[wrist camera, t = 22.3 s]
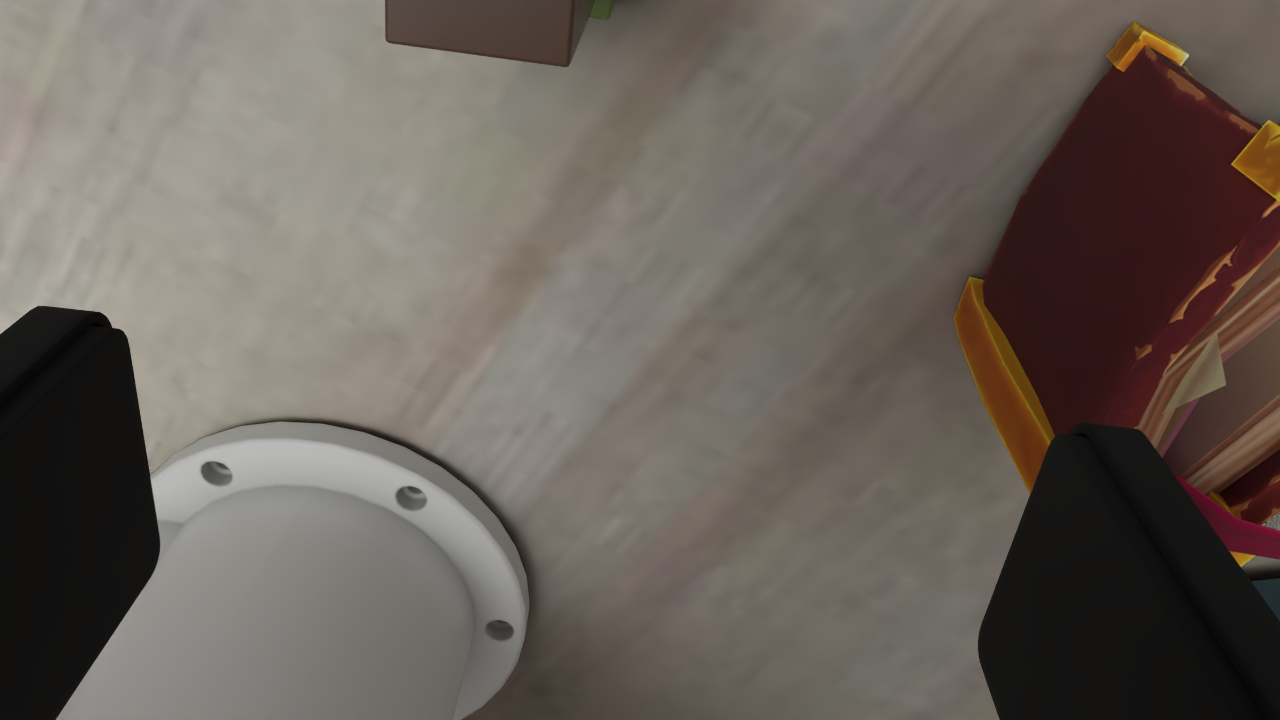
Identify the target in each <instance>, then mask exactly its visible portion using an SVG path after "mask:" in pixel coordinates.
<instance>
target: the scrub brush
mask: <svg viewBox="0 0 1280 720" xmlns="http://www.w3.org/2000/svg"><path fill="white" fill-rule="evenodd" d="M614 4H615V0H385V38H386V41H387V42H389V43H392V44H400V45H407V46H414V47H422V48H429V49H436V50H444V51H451V52H458V53H466V54H473V55H480V56H488V57H495V58H502V59H510V60H517V61H524V62H532V63H539V64H546V65H554V66H561V67H568V66H569V64H570V62H571V60H572V57H573V55H574V52H575V50H576V48H577V45H578V43H579V40H580V38H581V35H582V33H583V30H584V28H585V26H586V23H587V21H588V18H589V17H593V18H600V19H609V18H610V16H611V13H612V10H613V7H614Z"/></svg>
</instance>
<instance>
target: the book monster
mask: <svg viewBox="0 0 1280 720" xmlns="http://www.w3.org/2000/svg"><path fill="white" fill-rule="evenodd" d="M1106 56H1107V57H1108V59H1109V60H1110V61H1111V62H1112V63H1113V65H1112V67H1111V68H1110V69H1109V71H1108V72H1107V73H1106V74H1105V76H1104V77H1103V78H1102V79H1101V81H1100V82H1099V83H1098V85H1097V86H1096V87H1095V88H1094V90H1093V91H1092V92H1091V93H1090V95H1089V96H1088V97H1087V98H1086V100H1085V101H1084V103H1083V104H1082V106H1081V108H1080V109H1079V111H1078V112H1077V114H1076V115H1075V117H1074V118H1073V120H1072V121H1071V123H1070V124H1069V126H1068V127H1067V129H1066V130H1065V132H1064V133H1063V135H1062V136H1061V138H1060V139H1059V141H1058V142H1057V144H1056V145H1055V147H1054V148H1053V150H1052V151H1051V153H1050V154H1049V156H1048V157H1047V159H1046V160H1045V162H1044V163H1043V165H1042V166H1041V168H1040V169H1039V171H1038V172H1037V174H1036V175H1035V177H1034V178H1033V180H1032V181H1031V183H1030V184H1029V186H1028V187H1027V189H1026V190H1025V192H1024V193H1023V195H1022V196H1021V198H1020V200H1019V202H1018V205H1017V207H1016V209H1015V211H1014V214H1013V216H1012V218H1011V220H1010V223H1009V225H1008V227H1007V229H1006V232H1005V234H1004V236H1003V238H1002V241H1001V243H1000V245H999V247H998V250H997V252H996V254H995V256H994V259H993V261H992V263H991V265H990V268H989V270H988V272H987V274H986V277H985V279H984V280H981V279H977V278H973V277H969V279H968V281H967V284H966V286H965V289H964V292H963V294H962V297H961V299H960V302H959V304H958V307H957V309H956V312H955V314H954V317H953V318H954V322H955V326H956V330H957V334H958V338H959V341H960V344H961V347H962V349H963V352H964V354H965V357H966V360H967V362H968V365H969V367H970V370H971V373H972V375H973V378H974V380H975V383H976V385H977V388H978V391H979V393H980V396H981V398H982V401H983V403H984V406H985V408H986V410H987V412H988V414H989V416H990V418H991V419H992V421H993V423H994V425H995V427H996V429H997V431H998V433H999V435H1000V437H1001V439H1002V441H1003V443H1004V445H1005V447H1006V449H1007V451H1008V453H1009V455H1010V457H1011V458H1012V460H1013V462H1014V464H1015V466H1016V468H1017V470H1018V472H1019V474H1020V476H1021V478H1022V480H1023V482H1024V484H1025V486H1026V487H1027V489H1028V491H1029V493H1030V494H1031V491H1032V489H1033V486H1034V484H1035V481H1036V478H1037V476H1038V473H1039V470H1040V468H1041V465H1042V462H1043V460H1044V457H1045V454H1046V452H1047V449H1048V447H1049V445H1050V443H1051V441H1052V439H1053V438H1054V437H1055V436H1057V435H1059V434H1065V435H1068V433H1069V431H1070V430H1071V429H1072V428H1073V427H1074V426H1075V425H1076V424H1078V423H1081V422H1084V423H1093V424H1101V425H1110V426H1119V427H1128V428H1135V429H1139V430H1140V431H1142V432H1143V433H1144V434H1145V435H1146V437H1147V438H1148V439H1149V441H1150V442H1151V443H1152V445H1153V446H1154V448H1155V449H1156V450H1157V452H1158V453H1159V455H1160V456H1161V457H1162V459H1163V460H1164V461H1165V463H1166V464H1167V466H1168V467H1169V468H1170V470H1171V471H1172V473H1173V474H1174V475H1175V477H1176V478H1177V479H1178V481H1179V482H1180V484H1181V485H1182V486H1183V488H1184V489H1185V491H1186V492H1187V493H1188V495H1189V496H1190V497H1191V499H1192V500H1193V502H1194V503H1195V504H1196V506H1197V507H1198V509H1199V510H1200V511H1201V513H1202V514H1203V515H1204V517H1205V518H1206V520H1207V521H1208V522H1209V524H1210V525H1211V526H1212V528H1213V529H1214V531H1215V532H1216V533H1217V535H1218V536H1219V538H1220V539H1221V540H1222V542H1223V543H1224V544H1225V546H1226V547H1227V549H1228V550H1229V551H1230V553H1231V554H1232V556H1233V557H1234V558H1235V560H1236V561H1237V562H1238V564H1239V565H1240V567H1242V566H1243V565H1244V564H1246V563H1247V562H1248V561H1249V560H1251V559H1252V558H1253V557H1255V556H1263V557H1269V558H1275V559H1280V531H1279V530H1275V529H1272V528H1269V527H1265V526H1262V524H1263V523H1265V522H1266V521H1267V520H1269V519H1270V518H1271V517H1273V516H1274V515H1275V514H1277V513H1278V512H1279V511H1280V125H1278V124H1276V123H1274V122H1272V121H1270V120H1268V121H1267V122H1266V123H1265V124H1264V125H1263V126H1260V125H1259V124H1257V123H1256V122H1254V121H1253V120H1251V119H1250V118H1248V117H1247V116H1246V115H1244V114H1243V113H1241V112H1240V111H1239V110H1237V109H1236V108H1234V107H1233V106H1232V105H1230V104H1229V103H1227V102H1226V101H1225V100H1223V99H1222V98H1220V97H1219V96H1218V95H1216V94H1215V93H1214V92H1212V91H1211V90H1210V89H1208V88H1207V87H1205V86H1204V85H1203V84H1201V83H1200V82H1199V81H1197V80H1196V79H1195V78H1193V76H1192V75H1191V73H1190V72H1189V70H1188V68H1187V67H1186V65H1185V64H1184V69H1183V68H1182V67H1181V66H1182V64H1183V63H1184V62H1185V60H1186V59H1187V58H1188V57H1189V54H1187V53H1186V52H1185V51H1184V50H1182V49H1181V48H1180V47H1179V46H1178V45H1176V44H1174V43H1173V42H1171V41H1169V40H1167V39H1165V38H1163V37H1162V36H1160V35H1158V34H1156V33H1154V32H1153V31H1151V30H1149V29H1147V28H1145V27H1144V26H1142V25H1140V24H1138V23H1136V22H1133V23H1132V24H1131V25H1130V27H1129V28H1128V29H1127V30H1126V32H1125V33H1124V34H1123V35H1122V37H1121V38H1120V39H1119V40H1118V42H1117V43H1116V44H1115V45H1114V47H1113V48H1112V49H1111V50H1110V52H1109V53H1108V54H1107V55H1106Z"/></svg>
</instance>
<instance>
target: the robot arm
mask: <svg viewBox="0 0 1280 720" xmlns="http://www.w3.org/2000/svg"><path fill="white" fill-rule="evenodd" d="M529 607H530V603H529V593H528V584H527V576H526V573H525V570H524V568H523V565H522V562H521V559H520V556H519V554H518V551H517V548H516V546H515V545H514V543H513V541H512V540H511V538H510V537H509V535H508V533H507V532H506V530H505V529H504V527H503V525H502V524H501V522H500V520H499V519H498V518H497V517H496V516H495V514H494V513H493V512H492V511H491V510H490V509H489V508H488V507H487V506H486V505H485V504H484V503H483V502H482V500H481V499H480V498H479V497H478V496H477V495H476V494H475V493H474V492H473V491H472V490H471V489H469V488H468V487H467V486H465V485H464V484H463V483H462V482H460V481H459V480H458V479H456V478H455V477H454V476H452V475H451V474H450V473H449V472H447V471H446V470H445V469H443V468H442V467H440V466H439V465H437V464H435V463H433V462H431V461H429V460H428V459H426V458H424V457H422V456H420V455H418V454H417V453H415V452H413V451H411V450H409V449H407V448H406V447H403V446H400V445H398V444H395V443H392V442H389V441H387V440H384V439H381V438H378V437H376V436H373V435H370V434H368V433H365V432H360V431H355V430H351V429H346V428H341V427H336V426H331V425H326V424H319V423H299V422H272V423H263V424H254V425H245V426H239V427H236V428H232V429H229V430H226V431H222V432H219V433H216V434H213V435H209V436H206V437H204V438H202V439H200V440H198V441H196V442H195V443H193V444H191V445H189V446H187V447H185V448H184V449H182V450H180V451H178V452H176V453H175V454H173V455H172V456H171V457H170V458H169V459H168V460H167V461H166V462H165V463H164V464H163V465H161V466H160V467H159V468H158V469H157V470H156V471H155V472H154V473H153V474H152V475H151V476H150V472H149V466H148V460H147V453H146V447H145V441H144V435H143V428H142V422H141V416H140V410H139V404H138V397H137V391H136V385H135V379H134V372H133V366H132V360H131V354H130V348H129V343H128V339H127V337H126V335H125V333H124V332H123V331H122V330H120V329H116V328H112V326H111V323H110V321H109V320H108V318H107V317H106V316H105V315H104V314H102V313H101V312H93V311H84V310H75V309H67V308H58V307H49V306H38V307H36V308H34V309H32V310H30V311H29V312H28V313H26V314H25V315H24V316H23V317H21V318H20V319H19V320H18V321H16V322H15V323H14V324H13V325H11V326H10V327H9V328H8V329H6V330H5V331H4V332H3V333H2V334H0V720H462V719H464V718H465V717H467V716H468V715H470V714H472V713H473V712H475V711H476V710H478V709H480V708H481V707H483V706H484V705H485V704H486V703H487V702H488V701H489V700H490V699H491V698H492V697H493V696H494V695H495V694H496V693H497V692H498V691H499V690H500V689H501V688H502V687H503V686H504V684H505V683H506V681H507V679H508V678H509V676H510V675H511V673H512V671H513V670H514V668H515V667H516V665H517V663H518V659H519V656H520V653H521V649H522V646H523V643H524V639H525V634H526V627H527V620H528V614H529ZM978 653H979V659H980V663H981V667H982V670H983V673H984V676H985V678H986V681H987V684H988V687H989V690H990V693H991V696H992V699H993V702H994V704H995V707H996V710H997V713H998V716H999V719H1000V720H1280V621H1279V619H1278V618H1277V616H1276V615H1275V614H1274V612H1273V611H1272V610H1271V608H1270V607H1269V605H1268V604H1267V603H1266V601H1265V600H1264V598H1263V597H1262V596H1261V594H1260V593H1259V592H1258V590H1257V589H1256V587H1255V586H1254V585H1253V583H1252V582H1251V580H1250V579H1249V578H1248V576H1247V575H1246V574H1245V572H1244V571H1243V569H1242V568H1241V567H1240V565H1239V564H1238V562H1237V561H1236V560H1235V558H1234V557H1233V556H1232V554H1231V553H1230V551H1229V550H1228V549H1227V547H1226V546H1225V544H1224V543H1223V542H1222V540H1221V539H1220V538H1219V536H1218V535H1217V533H1216V532H1215V531H1214V529H1213V528H1212V526H1211V525H1210V524H1209V522H1208V521H1207V520H1206V518H1205V517H1204V515H1203V514H1202V513H1201V511H1200V510H1199V509H1198V507H1197V506H1196V504H1195V503H1194V502H1193V500H1192V499H1191V497H1190V496H1189V495H1188V493H1187V492H1186V491H1185V489H1184V488H1183V486H1182V485H1181V484H1180V482H1179V481H1178V479H1177V478H1176V477H1175V475H1174V474H1173V473H1172V471H1171V470H1170V468H1169V467H1168V466H1167V464H1166V463H1165V461H1164V460H1163V459H1162V457H1161V456H1160V455H1159V453H1158V452H1157V450H1156V449H1155V448H1154V446H1153V445H1152V443H1151V442H1150V441H1149V439H1148V438H1147V437H1146V435H1145V434H1144V433H1143V432H1142V431H1140V430H1139V429H1135V428H1128V427H1119V426H1110V425H1101V424H1093V423H1084V422H1081V423H1078V424H1076V425H1075V426H1074V427H1073V428H1072V429H1071V430H1070V431H1069V433H1068V435H1065V434H1059V435H1057V436H1055V437H1054V438H1053V439H1052V441H1051V443H1050V445H1049V447H1048V449H1047V452H1046V454H1045V457H1044V460H1043V462H1042V465H1041V468H1040V470H1039V473H1038V476H1037V478H1036V481H1035V484H1034V486H1033V489H1032V491H1031V494H1030V497H1029V499H1028V502H1027V505H1026V507H1025V510H1024V513H1023V515H1022V518H1021V521H1020V523H1019V526H1018V529H1017V531H1016V534H1015V537H1014V539H1013V542H1012V545H1011V547H1010V550H1009V553H1008V555H1007V558H1006V560H1005V563H1004V566H1003V568H1002V571H1001V574H1000V576H999V579H998V582H997V584H996V587H995V590H994V592H993V595H992V598H991V600H990V603H989V606H988V608H987V611H986V614H985V616H984V619H983V622H982V624H981V628H980V631H979V638H978Z"/></svg>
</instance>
